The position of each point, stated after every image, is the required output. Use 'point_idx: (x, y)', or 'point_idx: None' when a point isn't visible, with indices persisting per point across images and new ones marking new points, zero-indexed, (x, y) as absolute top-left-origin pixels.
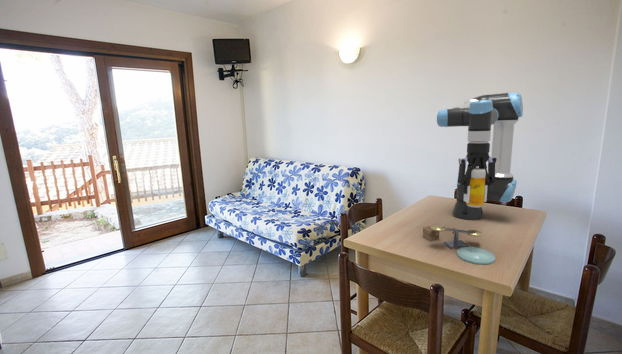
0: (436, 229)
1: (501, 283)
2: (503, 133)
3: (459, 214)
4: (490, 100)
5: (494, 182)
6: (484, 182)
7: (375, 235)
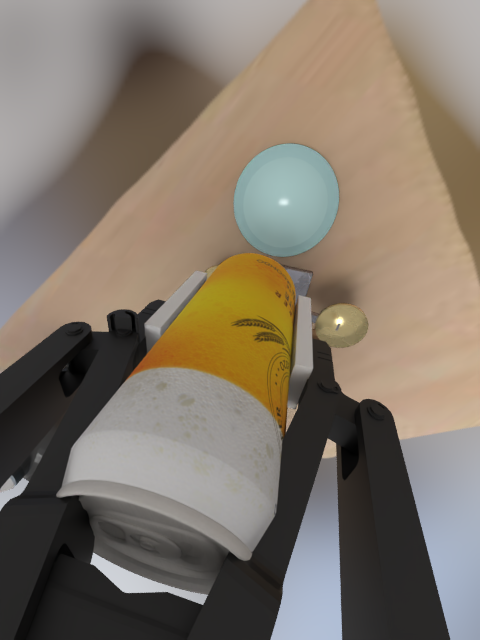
0: (363, 316)
1: None
2: None
3: None
4: None
5: (71, 323)
6: (171, 334)
7: (432, 407)
